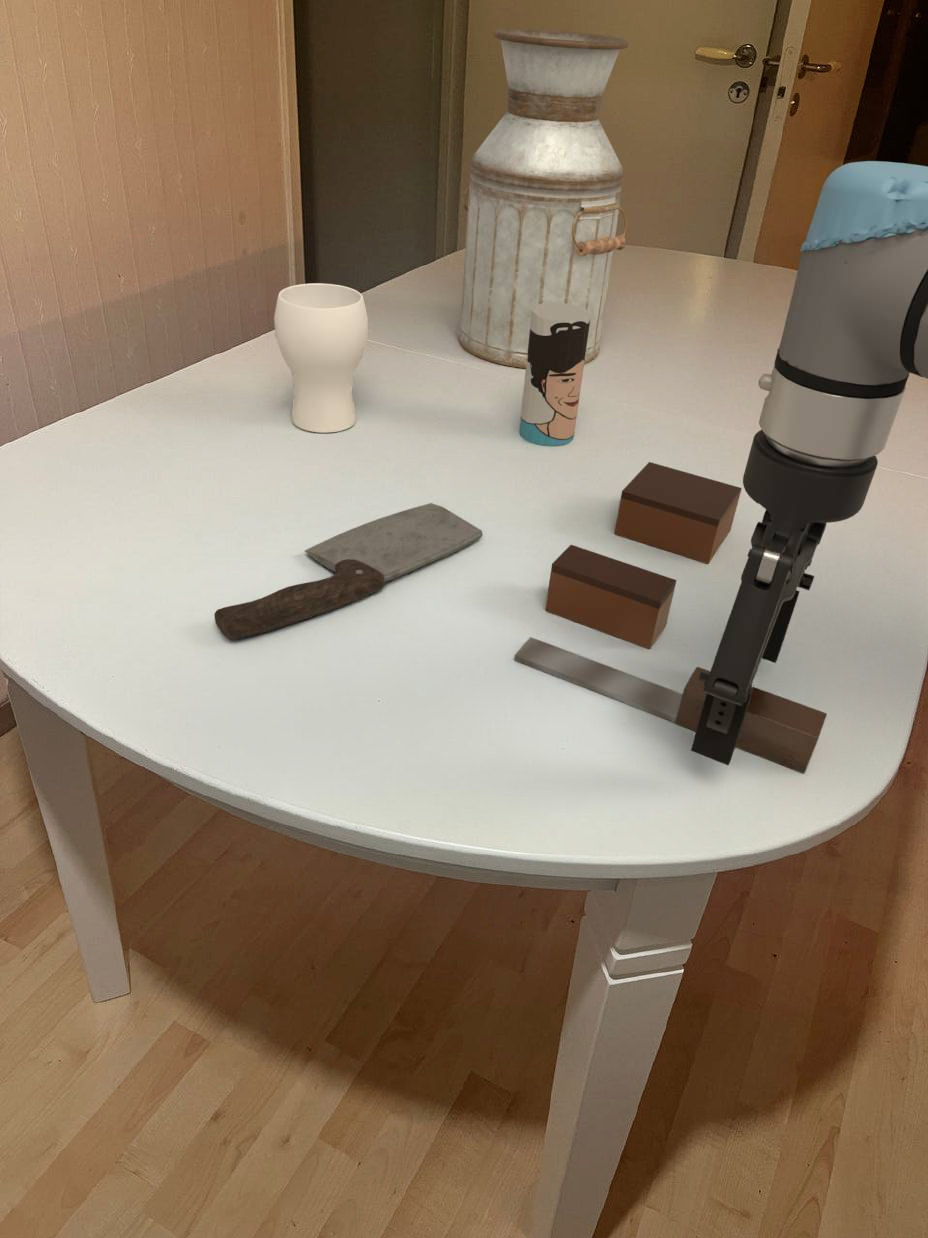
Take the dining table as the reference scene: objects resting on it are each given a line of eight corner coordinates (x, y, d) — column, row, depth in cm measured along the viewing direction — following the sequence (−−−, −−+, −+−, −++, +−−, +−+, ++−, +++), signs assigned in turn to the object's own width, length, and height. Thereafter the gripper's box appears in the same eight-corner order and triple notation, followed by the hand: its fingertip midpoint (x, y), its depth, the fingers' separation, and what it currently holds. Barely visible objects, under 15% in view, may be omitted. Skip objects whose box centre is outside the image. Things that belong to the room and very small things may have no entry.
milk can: (423, 331, 141) (434, 24, 118) (524, 310, 153) (553, 26, 130) (533, 384, 127) (571, 45, 103) (636, 356, 138) (690, 45, 115)
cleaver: (248, 659, 74) (247, 638, 73) (180, 607, 79) (177, 586, 78) (492, 539, 93) (494, 521, 91) (423, 503, 98) (424, 485, 97)
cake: (730, 530, 97) (742, 487, 94) (708, 564, 91) (719, 519, 88) (640, 503, 100) (649, 461, 98) (613, 534, 95) (621, 490, 92)
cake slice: (665, 626, 82) (677, 579, 79) (649, 649, 79) (660, 601, 76) (563, 590, 86) (570, 544, 83) (545, 610, 83) (551, 563, 80)
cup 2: (541, 450, 110) (556, 324, 101) (508, 428, 114) (520, 306, 105) (585, 439, 113) (603, 316, 104) (551, 419, 117) (566, 299, 109)
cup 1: (261, 420, 112) (252, 294, 103) (321, 395, 119) (318, 276, 110) (326, 446, 107) (323, 317, 98) (385, 419, 114) (387, 296, 105)
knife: (813, 748, 70) (827, 713, 68) (804, 774, 68) (818, 738, 66) (530, 641, 79) (534, 607, 77) (513, 661, 77) (517, 626, 74)
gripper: (800, 368, 68) (733, 606, 80) (698, 503, 49) (631, 783, 62) (908, 393, 65) (821, 635, 77) (841, 545, 47) (742, 830, 59)
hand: (737, 701), depth 70 cm, fingers open, 13 cm apart
